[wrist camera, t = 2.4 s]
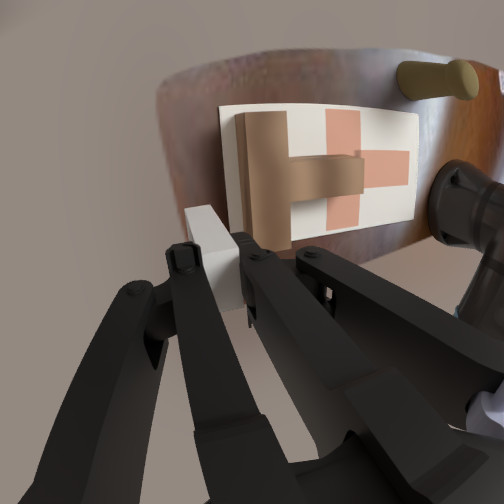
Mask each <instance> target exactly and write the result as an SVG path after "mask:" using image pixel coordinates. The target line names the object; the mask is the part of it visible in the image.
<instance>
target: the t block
mask: <svg viewBox="0 0 504 504" xmlns="http://www.w3.org/2000/svg"><path fill="white" fill-rule="evenodd" d="M235 127H236V140H237V153H238V166H239V179H240V192H241V204H242V217H243V229H244V232H245V233H248V234H250V235H251V237H252V238H253V239H254V240H255V241H256V242H257V244H258V245H259V246H260V247H261V248H262V249H268V250H271V251H273V252H276V251H281V250H286V249H291V204H290V202H296V201H304V200H312V199H321V198H329V197H338V196H348V195H357V194H364V162H365V159H364V158H360V157H355V156H351V155H346V154H336V155H312V156H295V157H289V148H288V128H287V111H260V112H244V113H239V114H235Z"/></svg>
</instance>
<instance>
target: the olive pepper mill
mask: <svg viewBox="0 0 504 504" xmlns="http://www.w3.org/2000/svg"><path fill="white" fill-rule="evenodd" d="M397 82H398V85H399V88H400V89H401V91H402V93H403V94H404V95H405V96H406V97H407V98H408V99H410V100H415V101H416V100H423V99H429V98H437V97H445V96H453V95H454V96H455V97H456V98H458V99H461V100H467V101H468V100H471V99H473V98H475V97H476V96H477V94H478V90H479V82H478V77H477V75H476V72H475V70H474V69H473V67H472V66H471V65H470V64H469V63H467V62H465V61H462V60H453V61H450V62H449V63H448V64H441V63H431V62H418V61H404V62H402V63H401V64H400V65H399V67H398V69H397Z"/></svg>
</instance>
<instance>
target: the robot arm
mask: <svg viewBox="0 0 504 504" xmlns="http://www.w3.org/2000/svg"><path fill="white" fill-rule="evenodd" d="M184 210H185V217H186V223H187V230H188V237H189V242H184V243H179V244H173V245H172V246H171V247H170V248H169V249H167V250H166V253H165V255H166V260H167V264H168V269H169V274H170V277H169V279H168V280H167V281H165V282H164V283H162V284H160V285H158V286H155V287H153V285H152V283H151V282H149V281H146V280H138V281H132V282H129V283H127V284H126V285H124V286H123V287H122V288H121V289H120V290H119V291H118V293H117V295H116V297H115V298H114V300H113V302H112V304H111V305H110V307H109V309H108V311H107V313H106V315H105V316H104V318H103V320H102V322H101V324H100V326H99V328H98V330H97V331H96V333H95V335H94V337H93V339H92V341H91V343H90V345H89V347H88V349H87V351H86V353H85V355H84V357H83V359H82V361H81V363H80V365H79V367H78V369H77V372H76V374H75V376H74V378H73V380H72V382H71V384H70V387H69V389H68V391H67V393H66V396H65V398H64V400H63V402H62V405H61V407H60V410H59V412H58V414H57V417H56V419H55V422H54V425H53V427H52V430H51V432H50V435H49V437H48V440H47V443H46V445H45V448H44V451H43V454H42V457H41V460H40V462H39V465H38V469H37V472H36V475H35V478H34V481H33V483H32V485H31V486H30V488H29V489H28V490H27V491H26V493H25V494H24V496H23V497H22V498H21V500H20V501H19V502H18V504H139V502H140V494H141V487H142V480H143V474H144V467H145V461H146V454H147V447H148V443H149V437H150V431H151V425H152V420H153V415H154V410H155V405H156V400H157V395H158V390H159V385H160V381H161V376H162V371H163V367H164V362H165V358H166V353H167V349H168V344H169V342H168V338H170V337H172V336H174V335H176V334H177V336H178V343H179V349H180V355H181V361H182V366H183V372H184V378H185V383H186V388H187V393H188V398H189V403H190V407H191V413H192V417H193V422H194V427H195V431H194V439H195V444H196V448H197V452H198V457H199V461H200V464H201V468H202V472H203V476H204V480H205V483H206V487H207V490H208V494H209V497H210V499H209V500H208V501H206V502H205V503H204V504H504V184H501V183H498V182H496V181H493V180H492V179H491V178H490V177H488V176H487V175H486V174H484V173H483V172H482V171H481V170H479V169H478V168H477V167H475V166H474V165H473V164H471V163H469V162H466V161H462V160H452V161H450V162H448V163H447V164H446V165H445V166H444V167H443V168H442V169H441V170H440V172H439V173H438V175H437V177H436V179H435V181H434V184H433V187H432V190H431V193H430V198H429V204H428V223H429V228H430V231H431V233H432V235H433V237H434V238H435V239H436V240H438V241H440V242H441V243H443V244H445V245H447V246H452V247H461V248H470V249H476V250H478V251H479V252H481V253H483V254H484V255H483V257H482V259H481V261H480V264H479V266H478V268H477V270H476V272H475V274H474V276H473V279H472V281H471V283H470V284H469V286H468V288H467V290H466V292H465V294H464V296H463V298H462V300H461V302H460V304H459V305H457V307H456V309H455V313H454V315H451V314H449V313H447V312H445V311H444V310H442V309H440V308H438V307H436V306H434V305H432V304H431V303H429V302H427V301H425V300H423V299H421V298H419V297H418V296H415V295H414V294H412V293H410V292H408V291H406V290H404V289H402V288H401V287H399V286H397V285H395V284H393V283H391V282H389V281H387V280H385V279H383V278H381V277H379V276H377V275H375V274H373V273H371V272H370V271H368V270H365V269H364V268H362V267H360V266H358V265H356V264H354V263H352V262H350V261H348V260H346V259H344V258H342V257H340V256H338V255H336V254H334V253H332V252H330V251H327V250H325V249H323V248H320V247H315V246H311V247H310V246H307V247H304V248H301V249H299V250H297V252H296V259H280V258H279V257H278V256H277V255H276V254H275V253H274V252H273V251H271V250H268V249H262V248H261V247H260V246H259V245H258V244H257V242H256V241H255V240H254V239H253V238H252V237H251V235H250V234H248V233H245V232H243V231H242V232H236V233H230V234H229V232H228V231H227V229H226V228H225V226H224V225H223V223H222V222H221V220H220V219H219V217H218V216H217V214H216V213H215V211H214V210H213V208H212V207H211V205H204V206H198V207H192V208H186V209H184ZM327 287H328V288H330V289H331V290H332V298H331V299H330V298H328V297H327V296H326V293H327ZM243 297H244V299H245V301H246V304H247V315H248V325H249V328H251V324H253V326H254V328H255V330H256V332H257V334H258V335H259V337H260V339H261V341H262V343H263V345H264V347H265V349H266V351H267V353H268V355H269V357H270V359H271V361H272V363H273V365H274V367H275V369H276V371H277V373H278V374H279V376H280V378H281V380H282V382H283V384H284V386H285V388H286V389H287V391H288V394H289V395H290V397H291V399H292V401H293V403H294V405H295V407H296V408H297V410H298V412H299V414H300V416H301V418H302V420H303V422H304V423H305V425H306V427H307V429H308V431H309V432H310V434H311V436H312V438H313V440H314V442H315V444H316V447H317V451H318V456H319V459H316V460H309V461H302V462H295V463H288V461H287V459H286V457H285V455H284V453H283V451H282V448H281V446H280V444H279V442H278V440H277V438H276V436H275V433H274V431H273V429H272V427H271V425H270V423H269V421H268V419H267V417H266V416H265V415H264V414H261V413H260V412H259V410H258V408H257V405H256V403H255V400H254V398H253V395H252V393H251V391H250V388H249V386H248V383H247V381H246V378H245V376H244V373H243V371H242V369H241V366H240V364H239V361H238V358H237V356H236V353H235V351H234V348H233V346H232V343H231V341H230V338H229V335H228V333H227V330H226V327H225V325H224V322H223V319H222V317H221V314H220V313H221V312H225V311H230V310H234V309H239V308H243V307H244V299H243ZM447 423H448V424H450V425H452V426H454V427H456V428H459V429H462V430H465V431H461V430H457V429H453V428H450V426H449V425H448V424H447Z"/></svg>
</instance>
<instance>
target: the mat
mask: <svg viewBox="0 0 504 504" xmlns="http://www.w3.org/2000/svg"><path fill="white" fill-rule="evenodd" d="M260 111H287V128H288V148H289V157H295V156H312V155H336V154H346V155H351V156H355V157H360V158H364V159H365V162H364V194H357V195H348V196H338V197H329V198H321V199H312V200H304V201H296V202H290V204H291V241H294V240H300V239H305V238H311V237H316V236H322V235H328V234H333V233H339V232H345V231H350V230H356V229H362V228H367V227H373V226H379V225H384V224H390V223H396V222H401V221H407V220H413V218H414V209H415V198H416V187H417V172H418V146H419V115H418V114H412V113H406V112H399V111H392V110H385V109H376V108H367V107H356V106H343V105H327V104H247V105H230V106H219V114H220V127H221V139H222V151H223V162H224V173H225V184H226V195H227V206H228V216H229V226H230V233H236V232H242V231H243V232H244V229H243V217H242V204H241V192H240V179H239V166H238V153H237V140H236V127H235V114H239V113H244V112H260Z"/></svg>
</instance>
